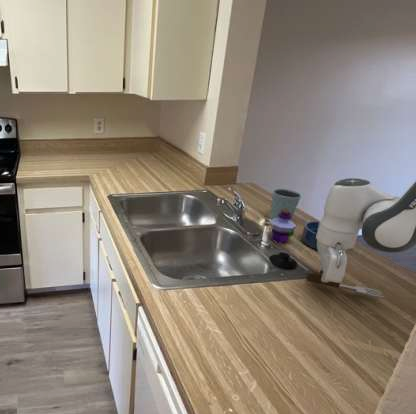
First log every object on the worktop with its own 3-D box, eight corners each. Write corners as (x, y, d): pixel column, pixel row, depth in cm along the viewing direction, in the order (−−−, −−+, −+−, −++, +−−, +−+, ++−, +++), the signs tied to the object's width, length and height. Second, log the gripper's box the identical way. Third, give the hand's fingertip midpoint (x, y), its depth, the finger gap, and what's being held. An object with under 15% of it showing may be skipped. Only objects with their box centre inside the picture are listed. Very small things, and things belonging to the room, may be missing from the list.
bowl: (340, 239, 124) (344, 225, 121) (346, 256, 113) (352, 241, 110) (299, 232, 129) (303, 218, 127) (302, 248, 118) (306, 233, 116)
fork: (380, 292, 92) (383, 284, 91) (383, 298, 90) (386, 290, 89) (305, 276, 100) (307, 268, 99) (306, 282, 97) (308, 274, 96)
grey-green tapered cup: (262, 214, 144) (268, 188, 140) (285, 213, 145) (291, 188, 140) (275, 224, 135) (282, 197, 130) (299, 224, 136) (306, 197, 131)
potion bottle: (291, 247, 119) (299, 217, 114) (264, 241, 123) (271, 212, 118) (292, 237, 125) (300, 208, 120) (267, 232, 129) (274, 204, 125)
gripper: (358, 256, 81) (342, 302, 86) (343, 223, 98) (331, 263, 103) (328, 251, 83) (314, 295, 89) (318, 219, 100) (307, 258, 106)
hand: (323, 277), depth 96 cm, fingers closed on fork, 2 cm apart
